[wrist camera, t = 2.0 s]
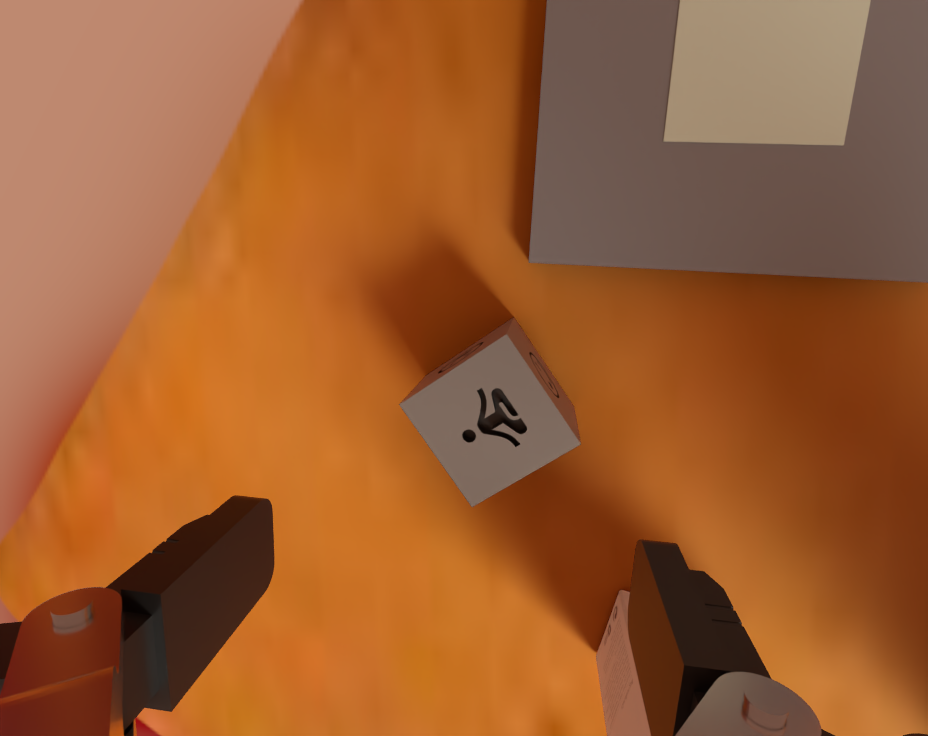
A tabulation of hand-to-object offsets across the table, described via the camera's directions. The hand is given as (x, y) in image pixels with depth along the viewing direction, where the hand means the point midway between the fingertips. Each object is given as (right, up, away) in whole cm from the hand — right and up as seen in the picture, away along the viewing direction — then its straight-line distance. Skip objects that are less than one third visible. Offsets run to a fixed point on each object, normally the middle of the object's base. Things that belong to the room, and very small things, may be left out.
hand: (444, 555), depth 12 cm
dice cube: (+2, +3, +14) cm, 15 cm away
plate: (+12, +16, +10) cm, 22 cm away
